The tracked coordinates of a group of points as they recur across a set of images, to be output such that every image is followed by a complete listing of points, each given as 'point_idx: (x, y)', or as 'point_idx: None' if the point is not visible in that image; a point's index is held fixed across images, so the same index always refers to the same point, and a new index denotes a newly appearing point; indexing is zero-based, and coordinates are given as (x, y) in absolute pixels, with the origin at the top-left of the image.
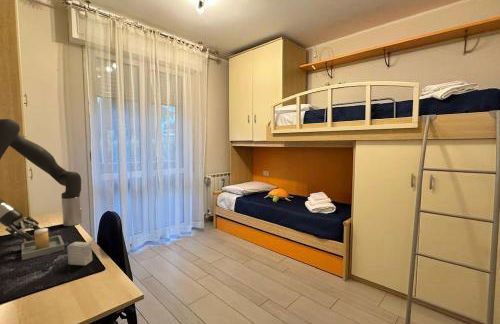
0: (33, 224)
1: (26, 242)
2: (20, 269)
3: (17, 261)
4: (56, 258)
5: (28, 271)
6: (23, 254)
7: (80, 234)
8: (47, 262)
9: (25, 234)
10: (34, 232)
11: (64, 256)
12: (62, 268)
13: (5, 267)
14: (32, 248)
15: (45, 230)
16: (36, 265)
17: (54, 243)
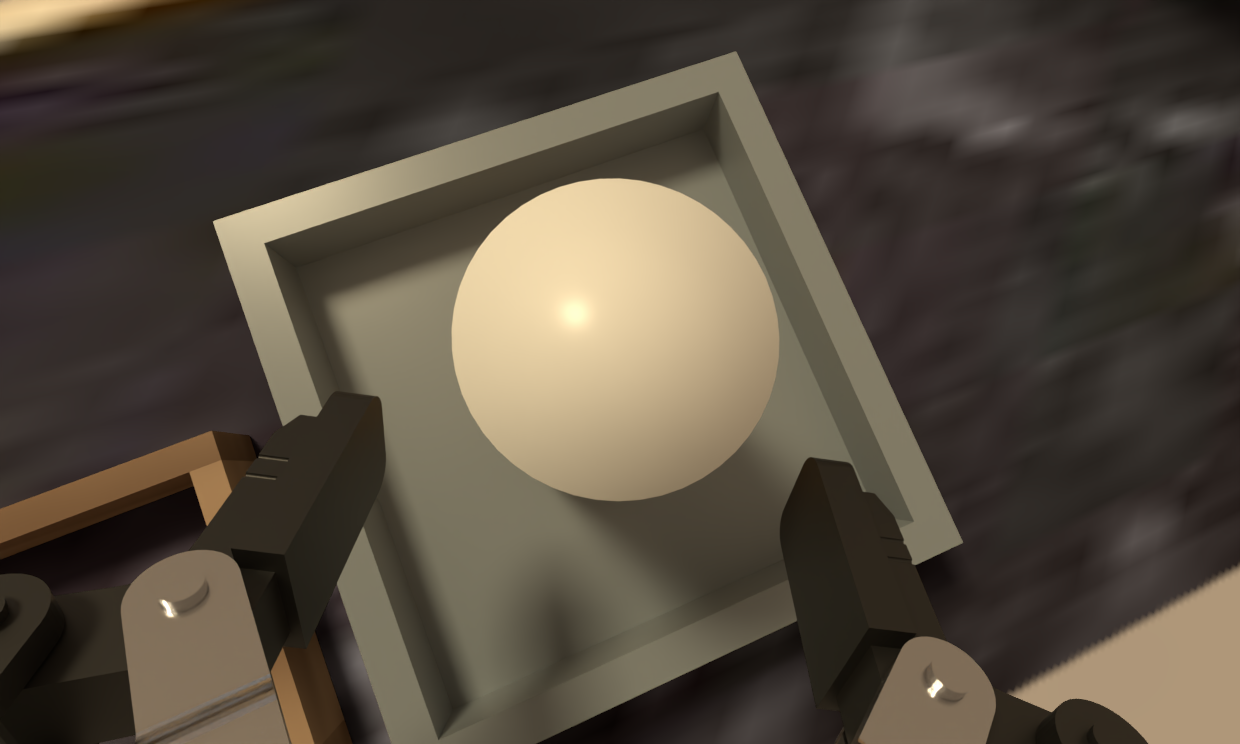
0: (251, 685)
1: (402, 717)
2: (1162, 436)
3: (923, 582)
4: (960, 133)
5: (1227, 325)
6: (948, 521)
7: (101, 19)
8: (1047, 200)
9: (907, 624)
10: (705, 471)
11: (927, 60)
12: (1226, 11)
13: (1069, 650)
14: (563, 547)
15: (699, 203)
16: (1098, 295)
17: (457, 279)
